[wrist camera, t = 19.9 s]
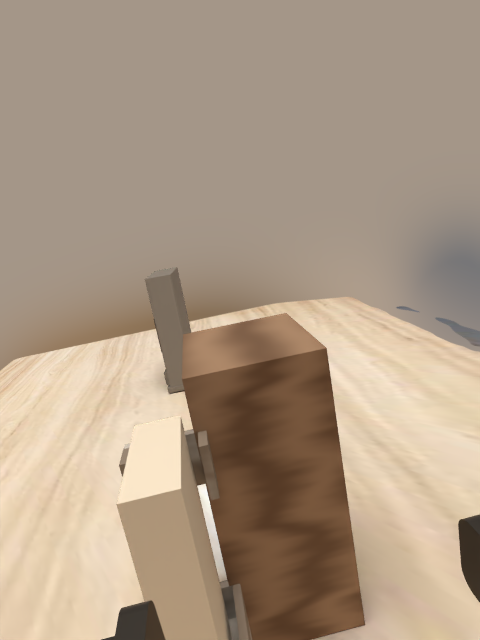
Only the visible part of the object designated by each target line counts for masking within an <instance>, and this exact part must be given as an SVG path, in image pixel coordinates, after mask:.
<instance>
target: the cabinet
mask: <svg viewBox="0 0 480 640" xmlns="http://www.w3.org/2000/svg"><path fill="white" fill-rule="evenodd" d="M182 382H183V386H184V390H185V395H186V399H187V404H188V408H189V412H190V417H191V421H192V426H193V429H192V430H187V431H184V432H185V436H186V441H187V445H188V449H189V454H190V458H191V462H192V466H193V471H194V475H195V479H196V484H197V485H202V484H206V487H207V491H208V496H209V500H210V505H211V509H212V513H213V518H214V522H215V526H216V531H217V535H218V540H219V544H220V548H221V553H222V557H223V562H224V566H225V570H226V575H227V579H228V580H226V581H222V582H220V586H221V590H222V595H223V599H224V603H225V608H226V612H227V616H228V620H229V625H230V629H231V634H232V640H310V639H314V638H318V637H321V636H325V635H329V634H332V633H336V632H340V631H343V630H347V629H351V628H354V627H358V626H362V625H365V622H364V615H363V608H362V600H361V593H360V586H359V579H358V572H357V564H356V557H355V550H354V543H353V536H352V528H351V521H350V514H349V507H348V500H347V492H346V485H345V478H344V471H343V463H342V456H341V449H340V442H339V435H338V427H337V420H336V413H335V406H334V399H333V391H332V384H331V377H330V370H329V363H328V355H327V348H326V347H325V346H324V345H322V344H321V343H320V342H319V341H318V340H317V339H315V338H314V337H313V336H312V335H311V334H310V333H309V332H307V331H306V330H305V329H304V328H303V327H302V326H300V325H299V324H298V323H297V322H296V321H295V320H293V319H292V318H291V317H290V316H289V315H288V314H287V313H284V314H279V315H274V316H270V317H265V318H260V319H255V320H250V321H246V322H241V323H236V324H231V325H226V326H221V327H217V328H212V329H207V330H202V331H197V332H193V333H188V334H183V354H182ZM129 447H130V444H126V445H125V446H124V450H123V453H122V457H121V460H120V464H119V466H120V470H121V474H122V477H123V474H124V469H125V465H126V461H127V456H128V452H129Z"/></svg>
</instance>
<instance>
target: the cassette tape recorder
mask: <svg viewBox="0 0 480 640" xmlns="http://www.w3.org/2000/svg"><path fill="white" fill-rule="evenodd" d="M145 282H146V286H147V291H148V295H149V299H150V303H151V308H152V312H153V316H154V322H155V326H156V330H157V335H158V339H159V343H160V347H161V352H162V354H163V358H164V362H165V367H166V370H165V372H164V375H165V379H166V383H167V385H168V384H169V386H168V392H169V393H174V392H177V391H182V390H184V386H183V382H182V354H183V334H188V333H191V329H190V324H189V320H188V315H187V311H186V306H185V301H184V297H183V292H182V288H181V283H180V278H179V273H178V269H177V267H175V268H170V269H165V270H159V271H155V272H154V273H152V274H151V275H150V276H148V277H147V278H146V279H145Z"/></svg>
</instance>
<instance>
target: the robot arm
mask: <svg viewBox="0 0 480 640" xmlns="http://www.w3.org/2000/svg"><path fill="white" fill-rule="evenodd" d="M458 526H459V540H460V554H461V566H462V571H463V574H464V577H465V579H466V582H467V584H468V586H469V588H470V589H471V591H472V593H473V594H474V595H475V597H476V598H477V599H478V601H479V602H480V515H476V516H472V517H469V518H465V519H461V520H460V521H459V524H458ZM102 640H166V639H165V636H164V633H163V630H162V627H161V624H160V621H159V618H158V614H157V611H156V608H155V605H154V603H153V601H152V600H150V601H146V602H143V603H139V604H135V605H131V606H127V607H124V608H121V610H120V612H119V616H118V622H117V628H116V634H115V636H113V637H110V638H106V639H102Z"/></svg>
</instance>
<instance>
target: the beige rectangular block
mask: <svg viewBox="0 0 480 640" xmlns="http://www.w3.org/2000/svg"><path fill="white" fill-rule="evenodd" d="M117 508H118V511H119V514H120V518H121V521H122V525H123V528H124V532H125V535H126V539H127V542H128V546H129V549H130V553H131V556H132V559H133V563H134V566H135V570H136V573H137V577H138V580H139V584H140V587H141V591H142V594H143V598H144V601H145V602H146V601H150V600H152V601H153V603H154V605H155V608H156V611H157V614H158V618H159V621H160V624H161V627H162V630H163V633H164V636H165V639H166V640H232V634H231V629H230V625H229V620H228V616H227V612H226V608H225V603H224V599H223V595H222V590H221V586H220V582H219V578H218V573H217V569H216V565H215V561H214V556H213V552H212V548H211V543H210V539H209V535H208V531H207V526H206V522H205V518H204V513H203V509H202V505H201V501H200V496H199V492H198V488H197V484H196V479H195V475H194V471H193V466H192V462H191V458H190V454H189V449H188V445H187V441H186V436H185V432H184V428H183V424H182V419H181V415H179V416H175V417H170V418H166V419H161V420H157V421H153V422H148V423H144V424H140V425H135V426H134V430H133V434H132V439H131V443H130V447H129V452H128V456H127V461H126V465H125V469H124V474H123V478H122V483H121V487H120V492H119V496H118V500H117Z"/></svg>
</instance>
